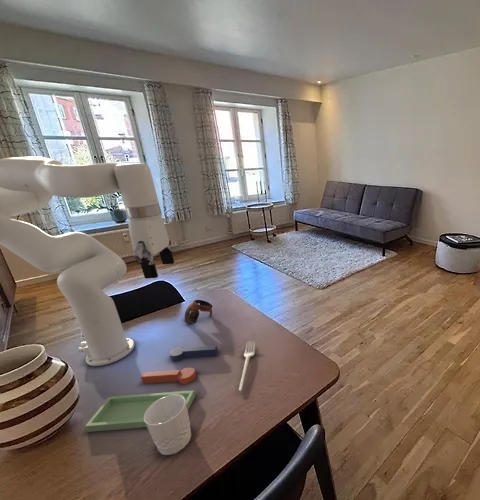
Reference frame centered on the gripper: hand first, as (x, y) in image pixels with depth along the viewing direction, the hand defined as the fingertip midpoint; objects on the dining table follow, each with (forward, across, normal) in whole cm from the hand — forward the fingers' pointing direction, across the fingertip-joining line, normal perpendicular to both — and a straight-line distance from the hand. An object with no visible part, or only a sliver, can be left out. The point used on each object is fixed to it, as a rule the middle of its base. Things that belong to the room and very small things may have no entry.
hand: (160, 270), depth 84 cm
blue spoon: (+30, 0, +2) cm, 30 cm away
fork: (+31, +7, +21) cm, 38 cm away
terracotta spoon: (+30, +10, +1) cm, 32 cm away
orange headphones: (+30, -21, -3) cm, 37 cm away
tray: (+30, +21, -1) cm, 37 cm away
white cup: (+31, +30, +10) cm, 44 cm away
